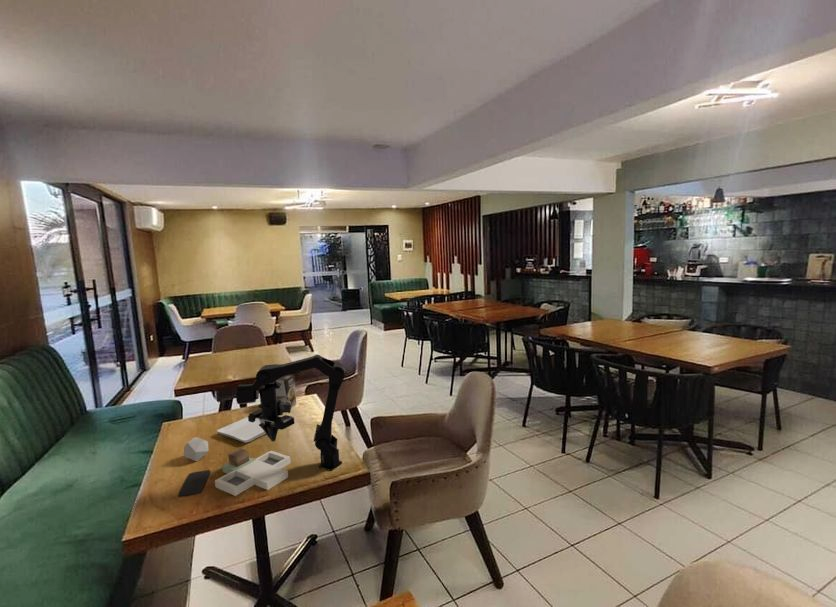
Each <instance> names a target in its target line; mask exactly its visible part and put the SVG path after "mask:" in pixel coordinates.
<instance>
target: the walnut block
mask: <svg viewBox="0 0 836 607" xmlns="http://www.w3.org/2000/svg"><path fill="white" fill-rule="evenodd" d="M227 455H228V462H229V464H231V465H234V466H236V467H239V466H241V465H243V464H244V463H246V462H248V461H249V457H250V454H249V450H247V449H244V448H237V449H235V450H233V451H231V452H229V453H228V454H227Z"/></svg>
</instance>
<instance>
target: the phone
mask: <svg viewBox="0 0 836 607" xmlns="http://www.w3.org/2000/svg"><path fill="white" fill-rule="evenodd" d="M210 474H211V470H210V469H206V470H201V471H193V472H190V473H188V475H187V476H186V479H185V480H184V483H183V484H182V486H181V488H180V490H179V492H178V494H177V496H178V497H179V498H182V497H189V496H195V495H199V494H201V493H202V492H203V490H204V488H205V486H206V483H207V480H208V479H209V477H210Z"/></svg>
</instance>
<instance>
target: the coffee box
mask: <svg viewBox="0 0 836 607" xmlns="http://www.w3.org/2000/svg"><path fill="white" fill-rule="evenodd" d="M276 381H277V382H279V383H281V386H280V388H278V389H276V394H277V400H281V403H287V404H292V405H291V408H293V407H294V406H296V404H297V393H296V383H295V382H296V378H295V375H294V374H290V375H286V376H283V377H281V378H279V379H278V380H276Z"/></svg>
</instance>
